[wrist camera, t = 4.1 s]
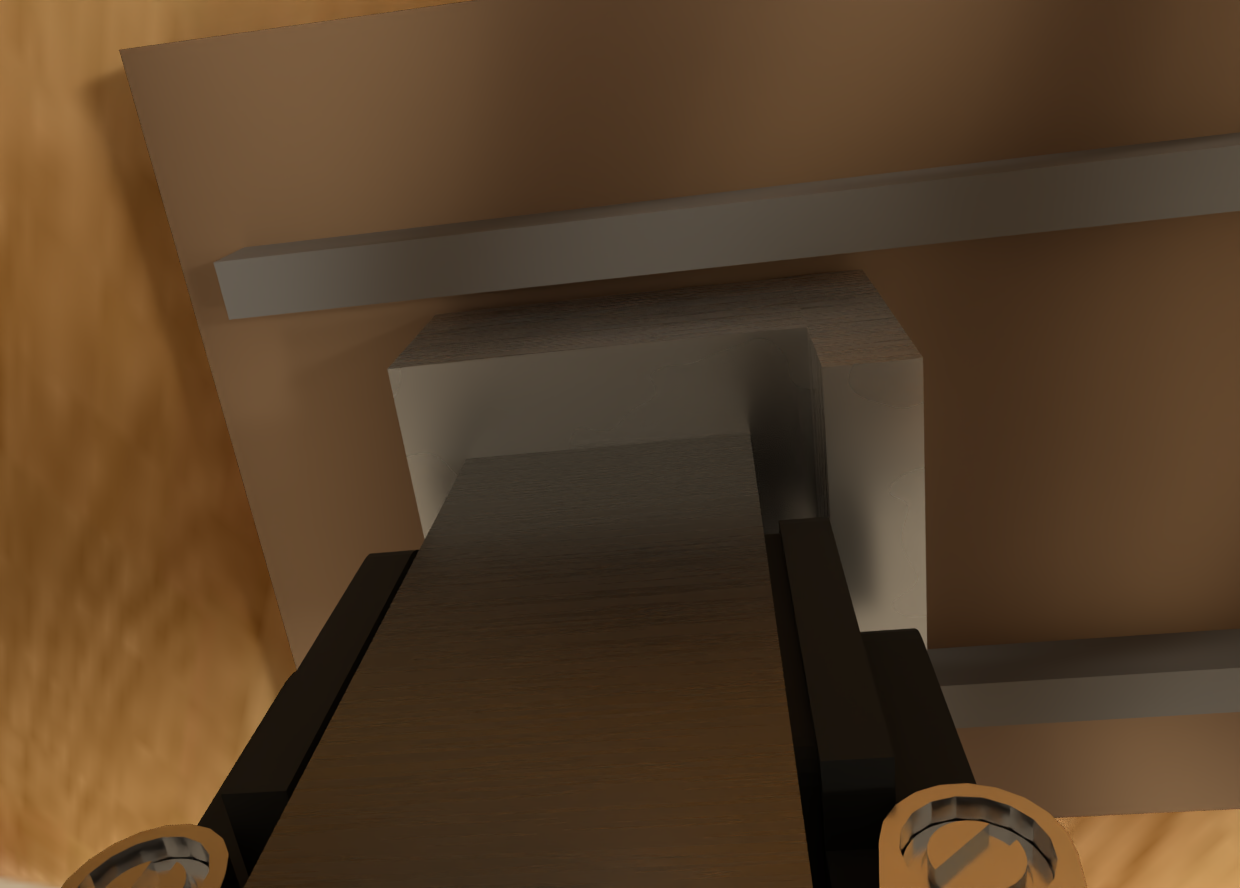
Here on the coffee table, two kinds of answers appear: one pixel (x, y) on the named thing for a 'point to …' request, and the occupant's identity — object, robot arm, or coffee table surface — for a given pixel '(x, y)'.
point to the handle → (613, 590)
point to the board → (776, 248)
